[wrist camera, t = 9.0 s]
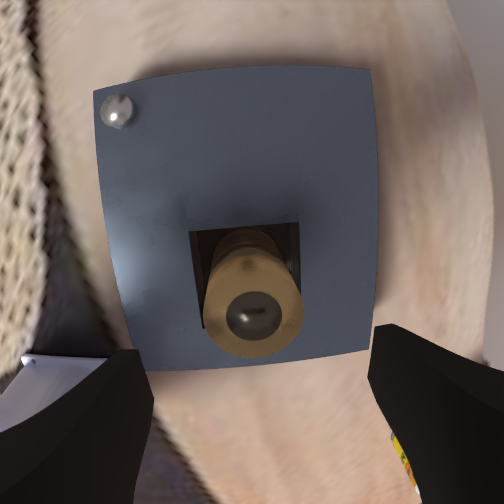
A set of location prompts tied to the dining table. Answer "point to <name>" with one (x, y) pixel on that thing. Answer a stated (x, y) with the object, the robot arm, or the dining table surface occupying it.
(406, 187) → the dining table surface
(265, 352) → the bushing
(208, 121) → the jig
